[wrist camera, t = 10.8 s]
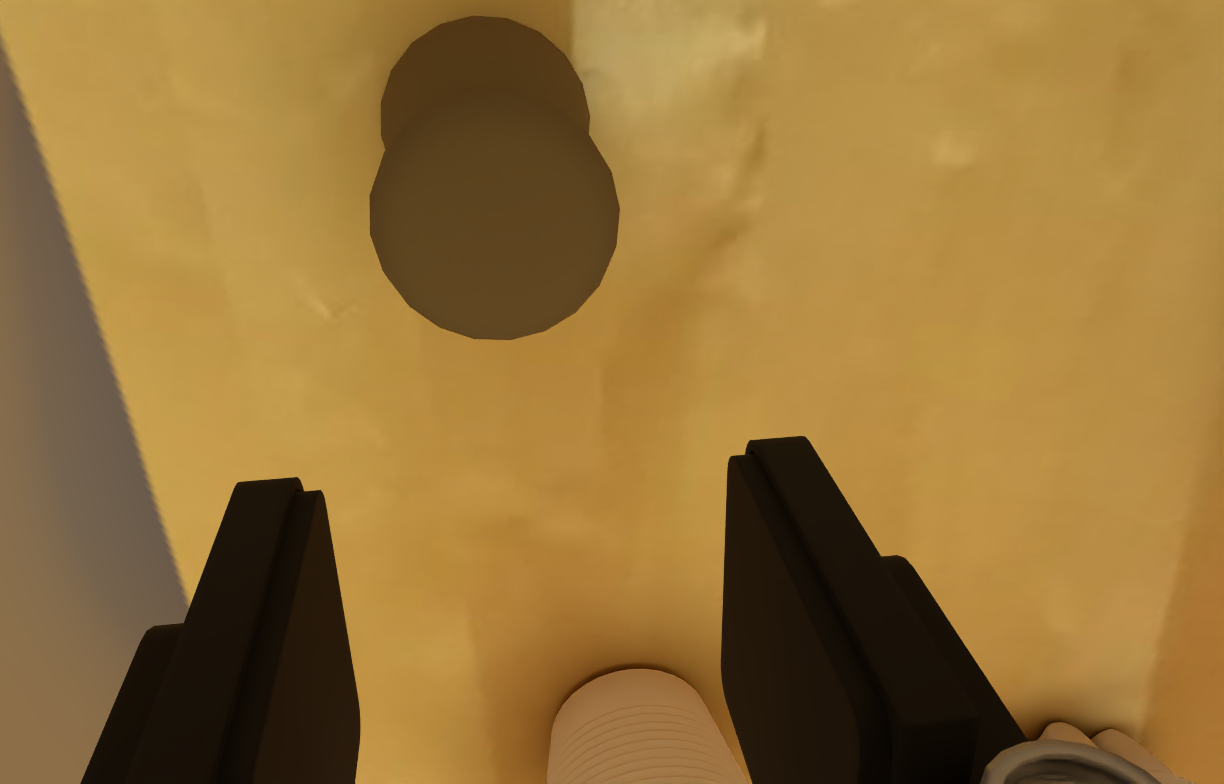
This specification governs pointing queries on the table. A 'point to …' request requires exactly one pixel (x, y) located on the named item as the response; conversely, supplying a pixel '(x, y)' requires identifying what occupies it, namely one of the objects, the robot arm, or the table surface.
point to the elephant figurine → (1116, 749)
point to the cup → (638, 734)
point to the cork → (490, 182)
